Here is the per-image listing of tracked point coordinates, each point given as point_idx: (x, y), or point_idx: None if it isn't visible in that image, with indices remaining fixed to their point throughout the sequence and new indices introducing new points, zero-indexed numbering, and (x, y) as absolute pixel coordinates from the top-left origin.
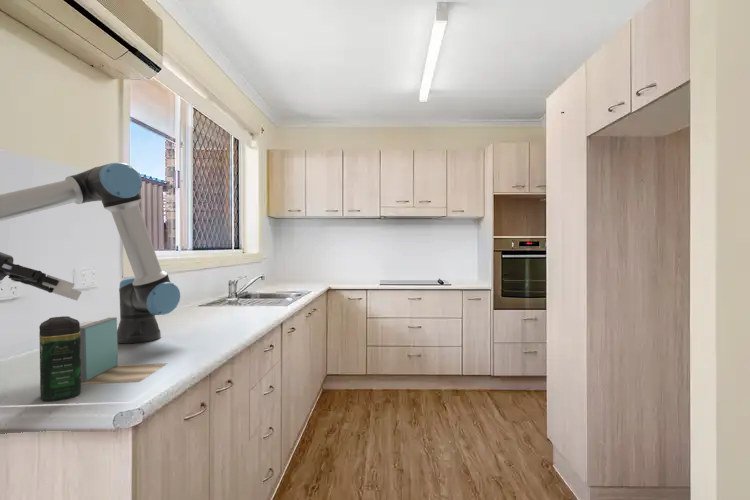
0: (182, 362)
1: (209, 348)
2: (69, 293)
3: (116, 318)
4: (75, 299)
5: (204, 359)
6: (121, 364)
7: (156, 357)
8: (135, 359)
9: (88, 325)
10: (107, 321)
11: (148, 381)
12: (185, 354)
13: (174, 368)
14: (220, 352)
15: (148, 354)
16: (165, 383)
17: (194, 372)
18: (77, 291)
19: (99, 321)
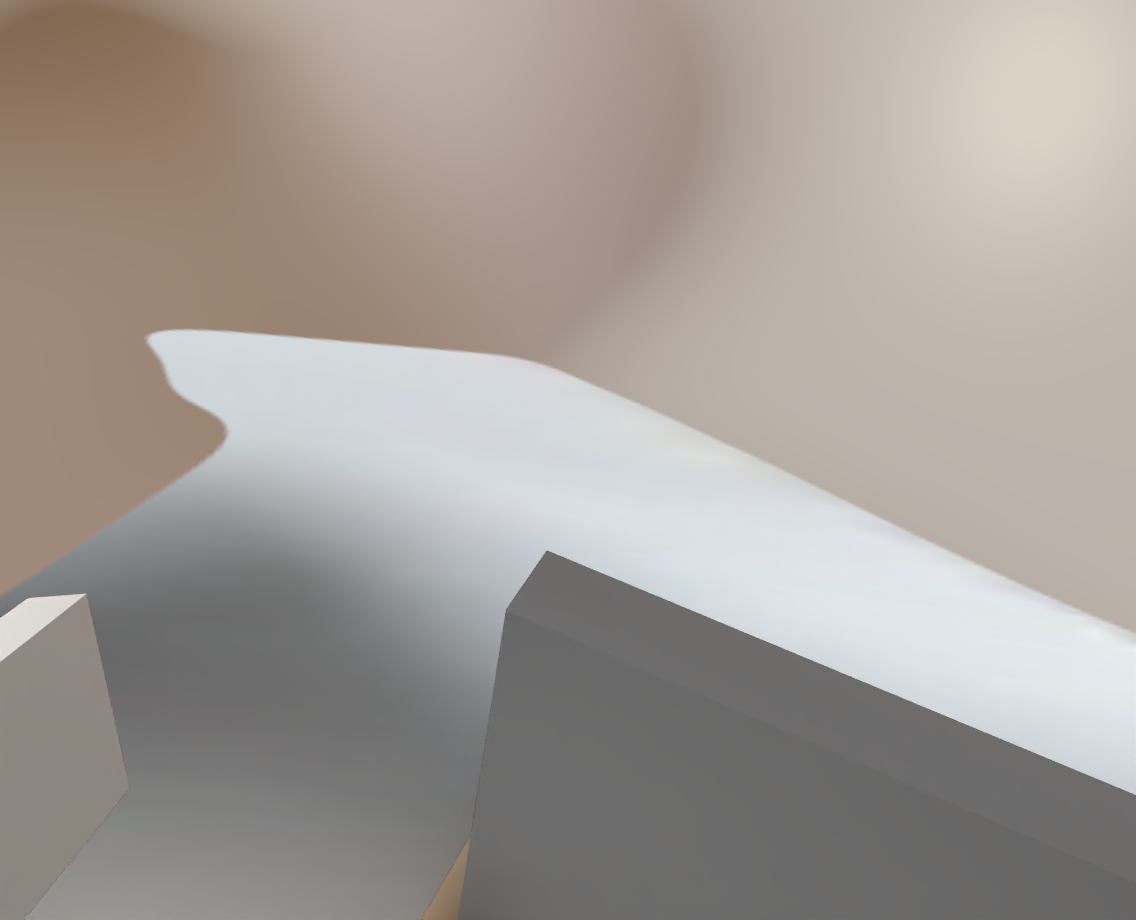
0: (605, 522)
1: (301, 363)
2: (4, 815)
3: (549, 561)
4: (114, 793)
5: (594, 435)
6: (470, 835)
7: (335, 614)
8: (289, 738)
9: (1092, 802)
10: (738, 641)
11: (1011, 721)
12: (378, 475)
13: (742, 575)
14: (462, 354)
15: (168, 644)
16: (1074, 655)
17: (880, 519)
18: (51, 643)
19: (801, 700)
